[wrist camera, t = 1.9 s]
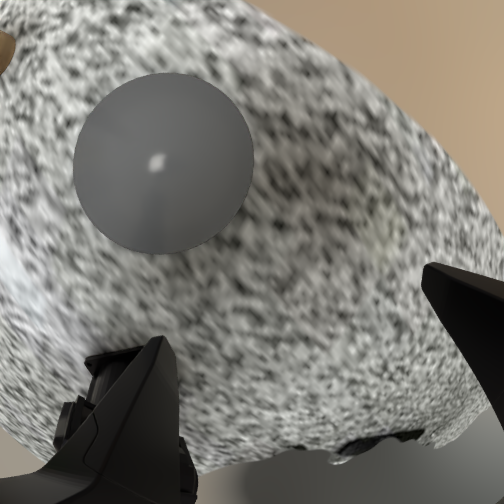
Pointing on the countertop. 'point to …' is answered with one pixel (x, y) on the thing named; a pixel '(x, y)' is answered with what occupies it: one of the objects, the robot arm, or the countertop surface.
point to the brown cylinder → (6, 50)
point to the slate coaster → (163, 163)
